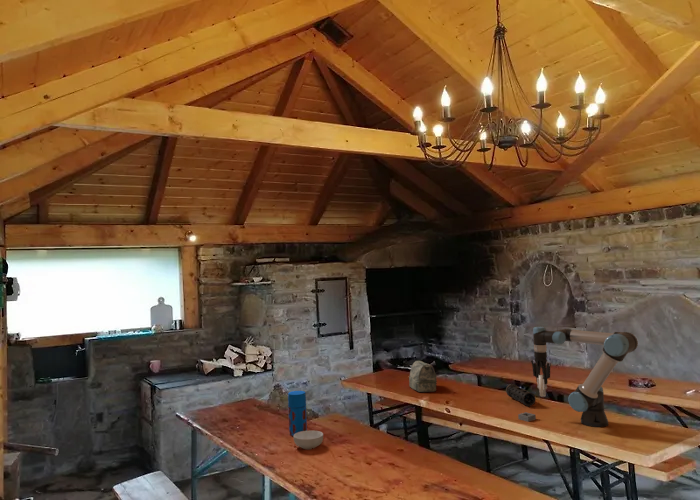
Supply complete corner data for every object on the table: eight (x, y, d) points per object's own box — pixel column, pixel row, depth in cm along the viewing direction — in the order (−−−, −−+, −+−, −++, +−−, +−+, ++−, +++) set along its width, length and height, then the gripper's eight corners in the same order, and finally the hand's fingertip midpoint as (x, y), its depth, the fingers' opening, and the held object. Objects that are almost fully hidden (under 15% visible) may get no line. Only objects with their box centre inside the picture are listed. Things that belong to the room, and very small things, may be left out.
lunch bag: (439, 391, 405) (438, 364, 406) (417, 393, 402) (416, 365, 403) (428, 384, 431) (427, 358, 432) (408, 386, 427) (406, 360, 428)
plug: (546, 396, 324) (545, 375, 324) (543, 396, 322) (542, 376, 322) (542, 394, 327) (541, 374, 327) (538, 395, 325) (537, 375, 325)
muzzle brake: (523, 408, 351) (522, 392, 352) (505, 398, 379) (504, 384, 379) (536, 407, 353) (535, 391, 353) (517, 397, 380) (516, 383, 381)
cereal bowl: (329, 446, 290) (329, 433, 290) (306, 454, 278) (306, 441, 279) (310, 440, 302) (310, 427, 302) (287, 447, 291) (287, 435, 291)
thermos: (304, 430, 322) (302, 389, 323) (309, 434, 312) (307, 393, 313) (287, 432, 318) (286, 392, 319) (291, 437, 308) (290, 395, 309)
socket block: (535, 419, 325) (535, 414, 325) (528, 421, 321) (527, 416, 321) (526, 416, 331) (525, 412, 331) (518, 419, 327) (518, 414, 327)
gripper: (525, 350, 330) (527, 387, 329) (547, 353, 317) (549, 391, 316) (533, 349, 334) (535, 385, 334) (555, 352, 321) (557, 389, 320)
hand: (542, 388), depth 325 cm, fingers closed on plug, 3 cm apart
